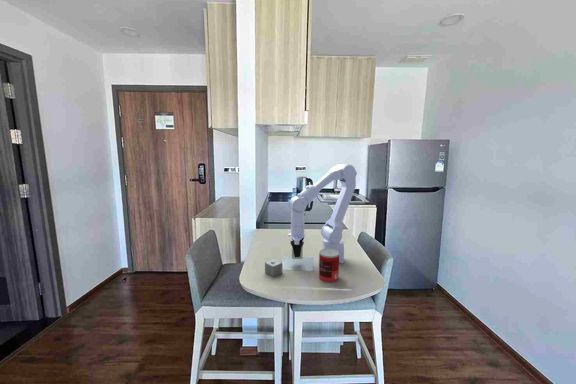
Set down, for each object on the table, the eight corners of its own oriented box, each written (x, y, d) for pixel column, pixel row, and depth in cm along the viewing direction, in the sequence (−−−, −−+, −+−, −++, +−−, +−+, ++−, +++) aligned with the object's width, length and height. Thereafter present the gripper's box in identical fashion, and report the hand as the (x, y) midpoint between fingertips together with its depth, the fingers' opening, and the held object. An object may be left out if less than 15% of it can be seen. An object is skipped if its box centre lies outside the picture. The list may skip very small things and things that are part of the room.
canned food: (336, 273, 111) (337, 248, 109) (340, 283, 103) (341, 256, 101) (317, 274, 110) (318, 248, 109) (320, 283, 102) (321, 256, 101)
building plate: (312, 258, 126) (312, 257, 126) (313, 272, 112) (313, 270, 112) (282, 257, 127) (282, 256, 127) (279, 270, 113) (279, 269, 113)
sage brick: (302, 255, 121) (302, 245, 120) (302, 259, 116) (302, 249, 116) (292, 254, 121) (292, 245, 120) (291, 258, 117) (291, 249, 116)
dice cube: (264, 274, 110) (264, 262, 109) (274, 270, 114) (274, 259, 113) (273, 278, 107) (273, 266, 106) (282, 274, 110) (282, 262, 109)
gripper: (289, 219, 124) (289, 248, 126) (286, 229, 110) (286, 261, 112) (305, 220, 123) (304, 248, 126) (304, 229, 109) (304, 261, 111)
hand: (297, 254), depth 119 cm, fingers closed on sage brick, 4 cm apart
